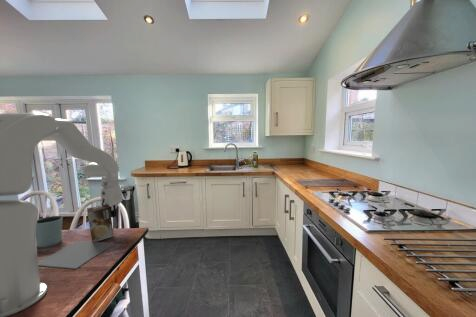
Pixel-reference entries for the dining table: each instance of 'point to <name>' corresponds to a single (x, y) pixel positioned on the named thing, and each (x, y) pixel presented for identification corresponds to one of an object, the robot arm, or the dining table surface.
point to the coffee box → (100, 222)
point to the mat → (74, 255)
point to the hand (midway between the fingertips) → (112, 216)
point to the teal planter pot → (49, 231)
